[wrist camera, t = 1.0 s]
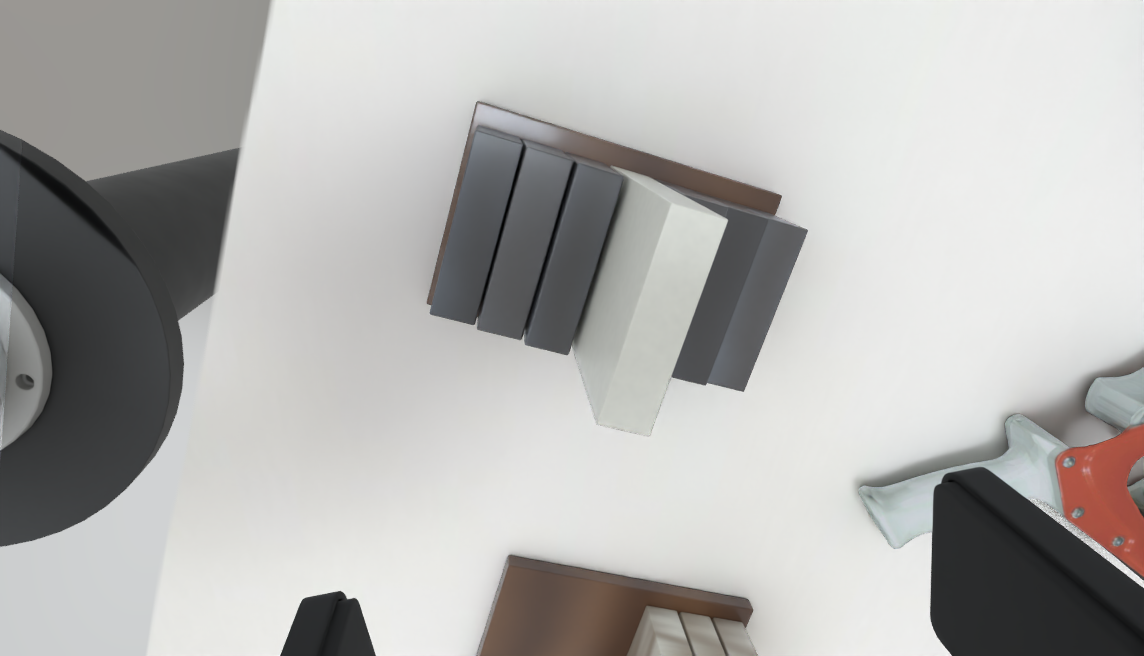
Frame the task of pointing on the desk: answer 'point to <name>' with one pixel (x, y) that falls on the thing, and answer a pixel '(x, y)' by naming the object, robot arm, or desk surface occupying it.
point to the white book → (643, 300)
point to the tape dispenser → (1050, 477)
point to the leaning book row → (608, 616)
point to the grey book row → (596, 243)
